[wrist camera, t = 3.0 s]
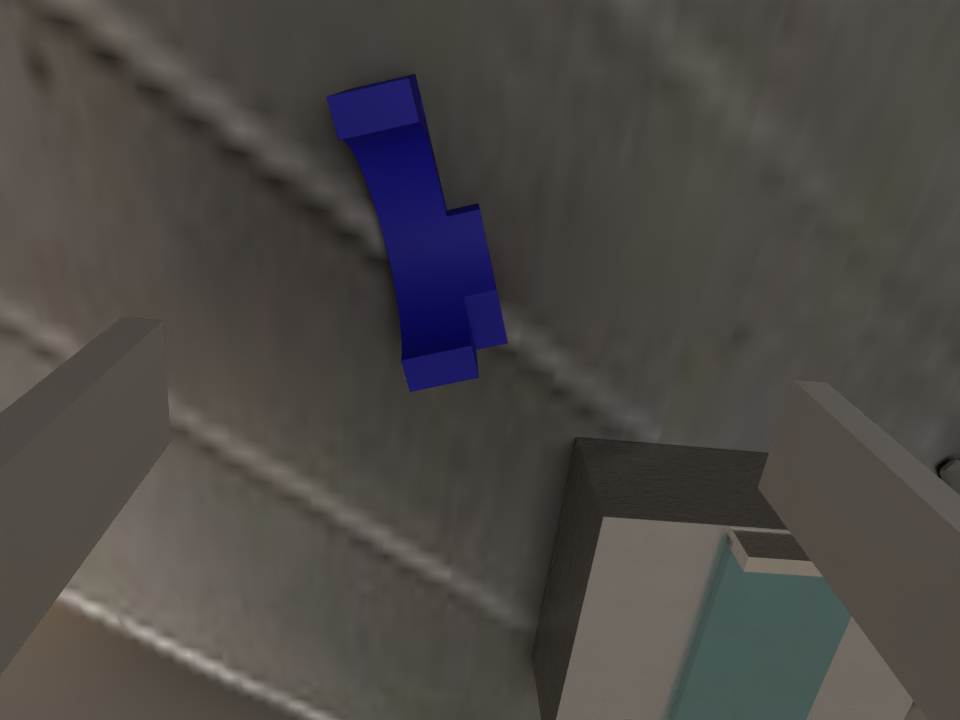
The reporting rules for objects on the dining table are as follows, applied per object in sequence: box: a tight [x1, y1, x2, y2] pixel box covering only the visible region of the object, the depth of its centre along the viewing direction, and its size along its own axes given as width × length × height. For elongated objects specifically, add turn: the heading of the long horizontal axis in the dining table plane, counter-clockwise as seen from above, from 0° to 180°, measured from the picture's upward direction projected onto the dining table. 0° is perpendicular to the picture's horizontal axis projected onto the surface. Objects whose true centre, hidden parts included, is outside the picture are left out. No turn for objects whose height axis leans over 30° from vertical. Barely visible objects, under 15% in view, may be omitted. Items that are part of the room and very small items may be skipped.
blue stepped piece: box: [327, 74, 508, 392], centre depth 29 cm, size 12×4×6 cm, turn 12°
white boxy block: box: [532, 437, 913, 720], centre depth 37 cm, size 19×16×9 cm
